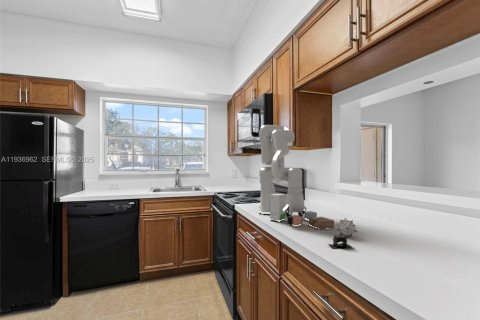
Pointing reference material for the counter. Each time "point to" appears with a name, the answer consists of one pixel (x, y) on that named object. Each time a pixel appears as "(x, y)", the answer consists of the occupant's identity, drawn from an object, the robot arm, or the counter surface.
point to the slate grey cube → (310, 214)
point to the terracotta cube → (296, 219)
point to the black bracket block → (343, 244)
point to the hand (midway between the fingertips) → (294, 223)
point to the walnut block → (321, 222)
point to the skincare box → (277, 206)
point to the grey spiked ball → (346, 227)
